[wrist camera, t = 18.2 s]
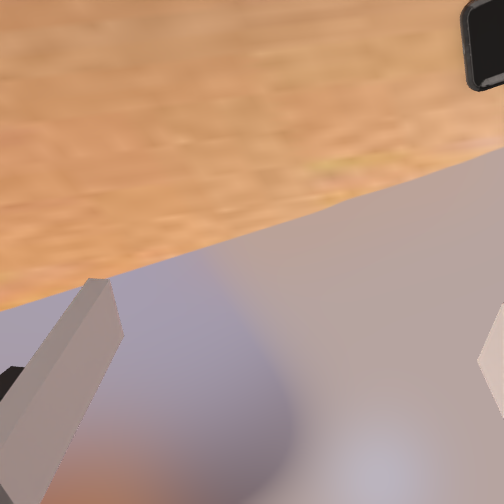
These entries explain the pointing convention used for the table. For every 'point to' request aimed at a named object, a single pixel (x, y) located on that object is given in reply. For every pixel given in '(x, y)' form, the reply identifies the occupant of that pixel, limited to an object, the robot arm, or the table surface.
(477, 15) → the phone
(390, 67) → the table surface
